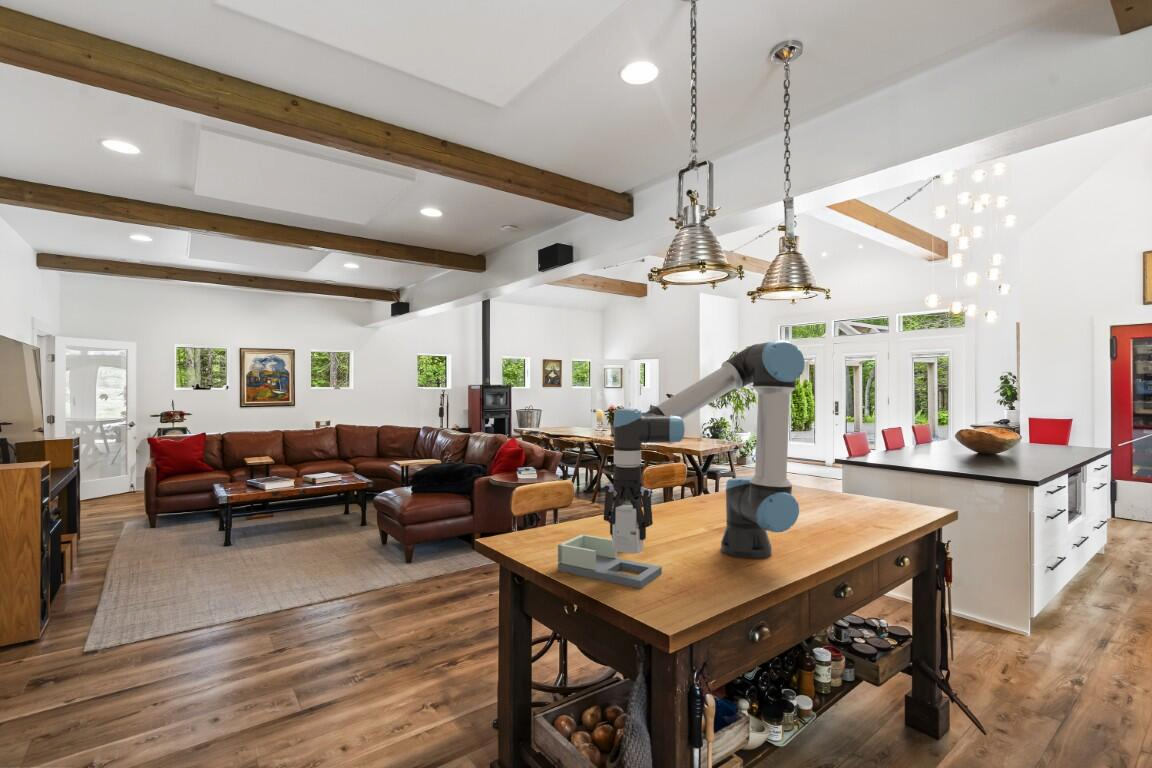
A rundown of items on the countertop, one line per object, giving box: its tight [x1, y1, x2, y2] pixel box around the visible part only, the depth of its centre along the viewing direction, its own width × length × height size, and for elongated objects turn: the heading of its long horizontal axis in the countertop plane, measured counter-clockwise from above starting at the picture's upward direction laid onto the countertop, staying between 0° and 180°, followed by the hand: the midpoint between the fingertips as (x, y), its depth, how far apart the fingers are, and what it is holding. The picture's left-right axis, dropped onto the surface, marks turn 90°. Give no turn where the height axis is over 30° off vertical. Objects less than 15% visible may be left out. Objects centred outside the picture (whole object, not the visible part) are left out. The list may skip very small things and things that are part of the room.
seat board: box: [557, 555, 663, 590], centre depth 152 cm, size 26×13×2 cm, turn 57°
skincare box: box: [615, 504, 639, 554], centre depth 149 cm, size 6×4×12 cm
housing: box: [557, 533, 618, 570], centre depth 156 cm, size 12×13×5 cm
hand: (627, 549), depth 149 cm, fingers closed on skincare box, 6 cm apart
